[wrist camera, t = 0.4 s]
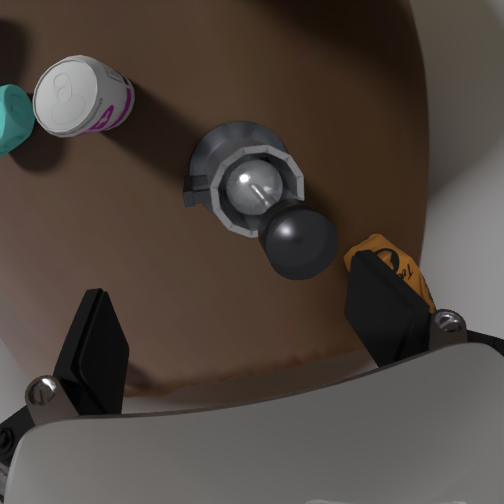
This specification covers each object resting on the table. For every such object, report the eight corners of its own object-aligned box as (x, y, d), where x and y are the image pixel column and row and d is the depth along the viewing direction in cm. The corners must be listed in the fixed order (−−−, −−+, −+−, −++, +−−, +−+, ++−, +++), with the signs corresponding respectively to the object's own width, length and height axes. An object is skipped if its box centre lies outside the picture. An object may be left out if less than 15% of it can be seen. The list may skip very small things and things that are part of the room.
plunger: (223, 163, 30) (250, 206, 16) (279, 156, 31) (350, 194, 17) (229, 216, 33) (258, 298, 19) (282, 209, 33) (346, 281, 19)
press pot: (179, 128, 37) (172, 132, 25) (285, 117, 38) (322, 119, 27) (194, 225, 43) (194, 266, 31) (290, 210, 45) (324, 245, 33)
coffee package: (380, 223, 49) (467, 287, 29) (397, 272, 54) (467, 339, 35) (335, 253, 50) (409, 335, 30) (357, 300, 55) (419, 379, 36)
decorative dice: (-9, 114, 28) (-38, 118, 21) (26, 84, 28) (-3, 82, 21) (6, 155, 32) (-23, 165, 25) (41, 127, 32) (13, 132, 25)
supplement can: (142, 116, 35) (114, 116, 22) (89, 138, 34) (39, 152, 21) (128, 64, 31) (94, 38, 18) (74, 88, 31) (20, 79, 17)
